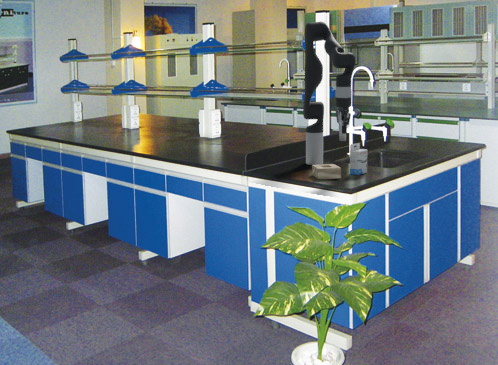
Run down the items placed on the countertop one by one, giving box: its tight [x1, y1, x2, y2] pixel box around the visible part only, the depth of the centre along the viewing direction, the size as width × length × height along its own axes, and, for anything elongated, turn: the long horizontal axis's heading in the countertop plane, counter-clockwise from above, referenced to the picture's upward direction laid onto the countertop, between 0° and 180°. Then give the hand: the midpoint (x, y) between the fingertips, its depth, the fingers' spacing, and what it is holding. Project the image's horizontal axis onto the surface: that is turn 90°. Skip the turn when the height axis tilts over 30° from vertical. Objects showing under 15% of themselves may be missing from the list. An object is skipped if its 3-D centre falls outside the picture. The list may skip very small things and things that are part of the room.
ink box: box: [349, 142, 369, 176], centre depth 298 cm, size 9×5×15 cm, turn 136°
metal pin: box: [338, 118, 347, 142], centre depth 286 cm, size 3×3×12 cm
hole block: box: [311, 163, 342, 180], centre depth 293 cm, size 11×11×5 cm
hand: (342, 132), depth 287 cm, fingers closed on metal pin, 3 cm apart
